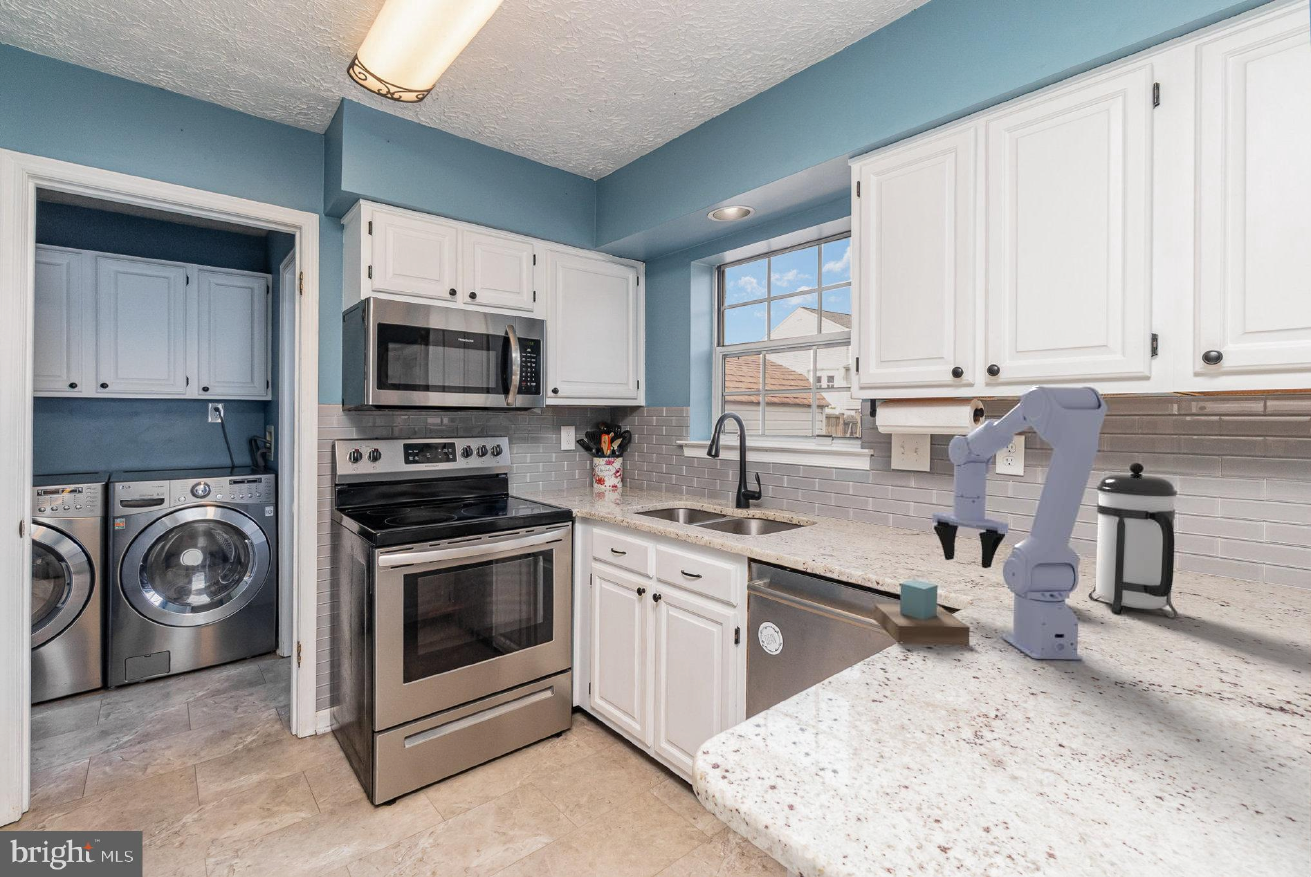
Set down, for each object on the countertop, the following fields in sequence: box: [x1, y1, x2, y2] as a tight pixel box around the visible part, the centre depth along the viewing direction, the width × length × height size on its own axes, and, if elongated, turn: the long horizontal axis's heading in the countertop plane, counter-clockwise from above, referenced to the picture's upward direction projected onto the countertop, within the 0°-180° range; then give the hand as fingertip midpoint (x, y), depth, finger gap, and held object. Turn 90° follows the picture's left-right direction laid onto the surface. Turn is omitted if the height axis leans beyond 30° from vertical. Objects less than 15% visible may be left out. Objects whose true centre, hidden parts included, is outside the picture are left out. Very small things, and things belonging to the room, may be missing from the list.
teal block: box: [899, 579, 939, 620], centre depth 109 cm, size 4×4×6 cm
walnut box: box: [873, 603, 971, 645], centre depth 109 cm, size 12×12×4 cm
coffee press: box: [1088, 462, 1179, 619], centre depth 122 cm, size 17×16×30 cm
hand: (967, 563), depth 121 cm, fingers open, 7 cm apart
